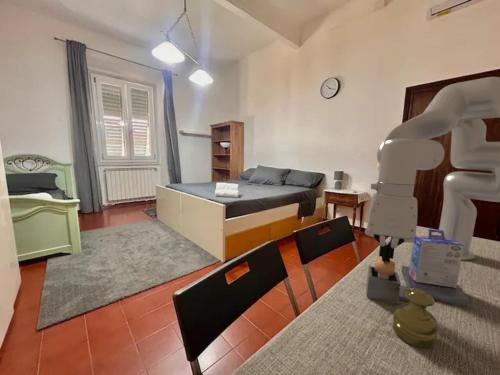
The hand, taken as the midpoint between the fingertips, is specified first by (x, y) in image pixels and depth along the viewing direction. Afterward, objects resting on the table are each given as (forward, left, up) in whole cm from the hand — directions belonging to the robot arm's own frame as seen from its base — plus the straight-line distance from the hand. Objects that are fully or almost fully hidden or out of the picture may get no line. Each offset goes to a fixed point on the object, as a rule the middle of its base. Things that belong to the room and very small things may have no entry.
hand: (385, 259), depth 57 cm
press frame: (-7, +8, -10) cm, 15 cm away
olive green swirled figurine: (+12, +5, -10) cm, 17 cm away
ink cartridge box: (-11, +13, -8) cm, 19 cm away
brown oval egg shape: (0, 0, -6) cm, 6 cm away
